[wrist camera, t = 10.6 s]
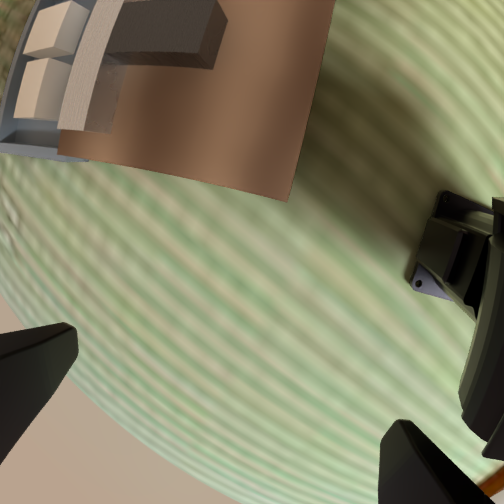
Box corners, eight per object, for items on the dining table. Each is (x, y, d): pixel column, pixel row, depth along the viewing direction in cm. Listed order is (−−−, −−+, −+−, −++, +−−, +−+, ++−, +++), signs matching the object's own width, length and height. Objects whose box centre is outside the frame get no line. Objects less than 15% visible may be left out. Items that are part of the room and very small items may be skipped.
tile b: (49, 57, 12) (27, 62, 13) (33, 117, 13) (13, 117, 14) (84, 69, 16) (62, 71, 16) (71, 121, 17) (50, 121, 17)
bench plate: (336, -5, 13) (341, -34, 10) (289, 196, 17) (287, 202, 14) (142, -16, 14) (120, -37, 11) (89, 154, 18) (56, 154, 15)
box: (144, -21, 14) (129, -36, 12) (88, 161, 18) (65, 162, 16) (57, -1, 15) (40, -10, 13) (12, 150, 19) (-8, 151, 17)
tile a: (39, 10, 13) (57, 18, 15) (22, 53, 14) (42, 59, 16) (71, 0, 12) (90, 10, 15) (53, 46, 14) (74, 54, 16)
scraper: (137, -27, 11) (247, -32, 11) (84, 131, 14) (193, 146, 14) (120, -44, 9) (239, -56, 8) (56, 128, 12) (174, 142, 11)
